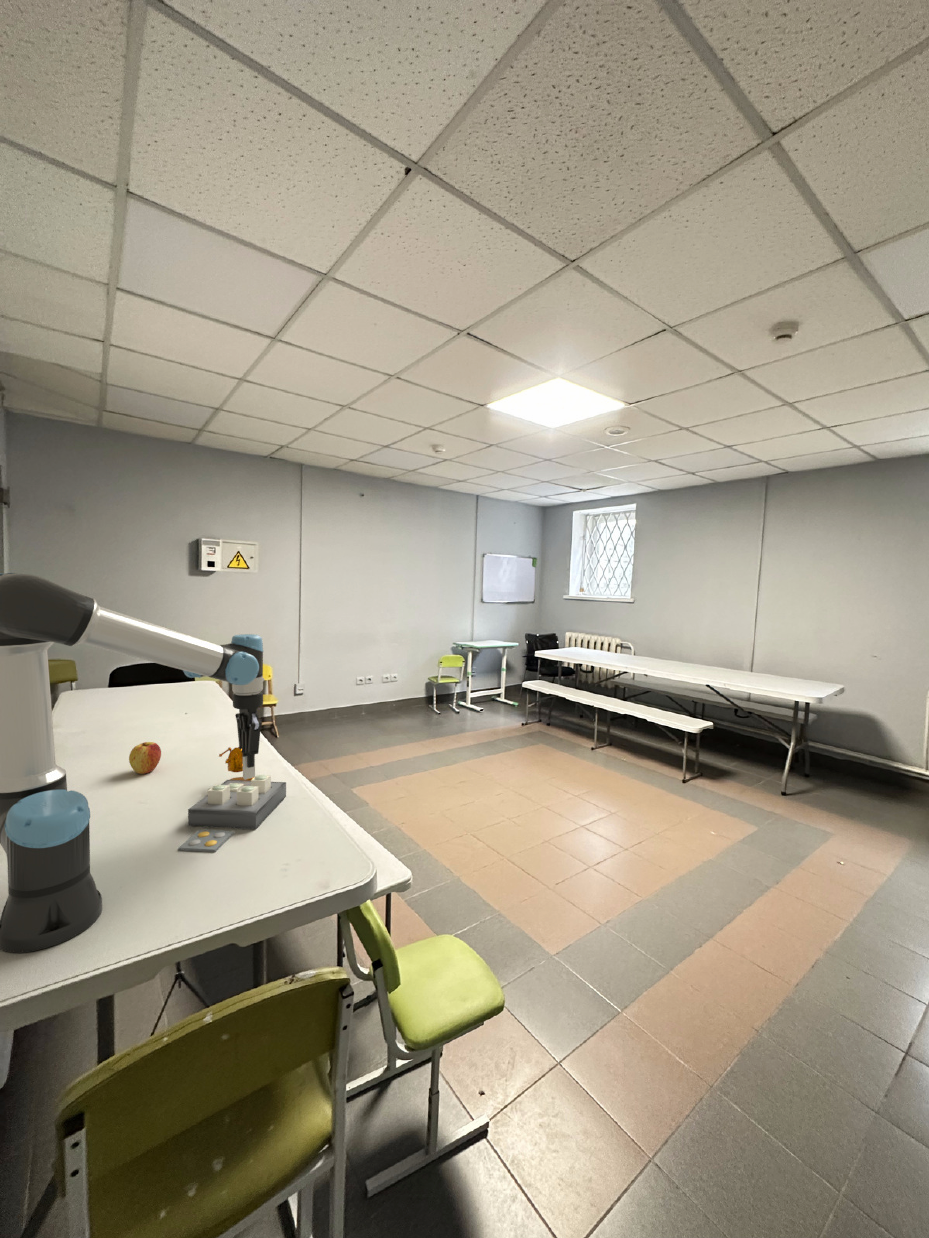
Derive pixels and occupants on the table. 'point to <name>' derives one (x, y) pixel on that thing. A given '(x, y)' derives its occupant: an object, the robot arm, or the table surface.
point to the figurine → (235, 762)
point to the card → (206, 840)
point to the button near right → (247, 796)
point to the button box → (237, 809)
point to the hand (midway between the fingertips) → (249, 777)
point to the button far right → (262, 783)
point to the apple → (145, 757)
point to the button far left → (235, 787)
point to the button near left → (219, 794)
